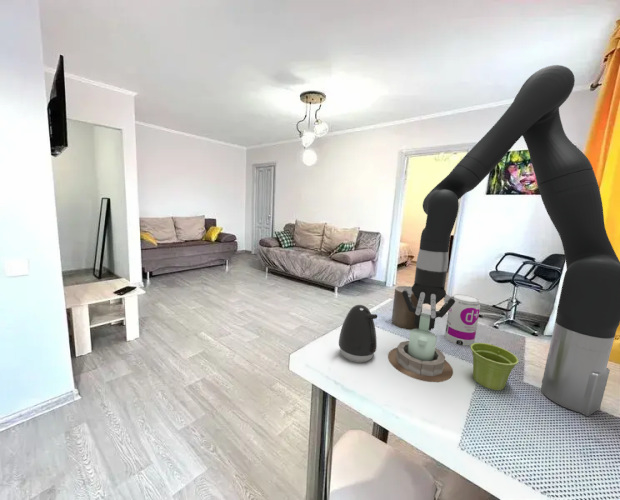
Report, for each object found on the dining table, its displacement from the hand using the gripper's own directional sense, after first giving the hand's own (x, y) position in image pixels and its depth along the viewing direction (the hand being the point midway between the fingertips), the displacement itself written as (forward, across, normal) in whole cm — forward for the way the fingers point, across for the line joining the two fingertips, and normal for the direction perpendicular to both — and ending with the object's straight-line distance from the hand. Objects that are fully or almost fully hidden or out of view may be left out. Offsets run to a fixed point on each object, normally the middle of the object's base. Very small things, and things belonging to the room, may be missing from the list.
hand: (423, 327), depth 74 cm
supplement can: (+9, -11, -16) cm, 22 cm away
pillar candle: (+9, +6, -20) cm, 23 cm away
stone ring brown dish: (+9, 0, +4) cm, 10 cm away
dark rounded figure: (+9, +16, +9) cm, 20 cm away
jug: (+8, 0, +5) cm, 9 cm away
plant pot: (+9, -16, +5) cm, 19 cm away
